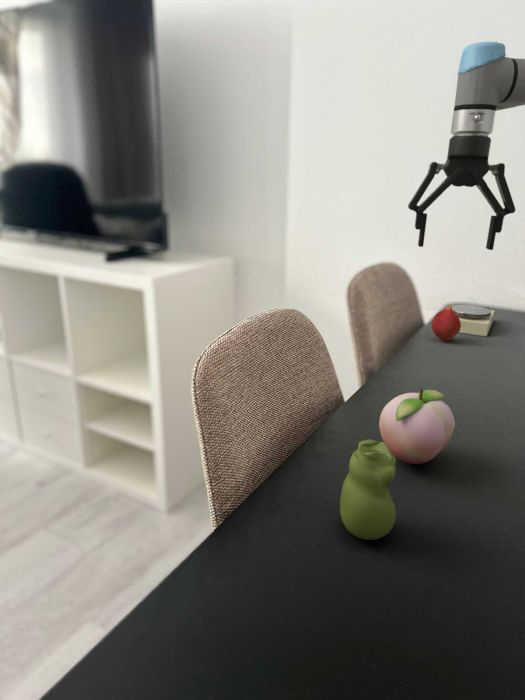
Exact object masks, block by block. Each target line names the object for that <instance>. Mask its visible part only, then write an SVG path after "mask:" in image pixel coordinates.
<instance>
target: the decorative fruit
mask: <svg viewBox="0 0 525 700" xmlns="http://www.w3.org/2000/svg"><path fill="white" fill-rule="evenodd" d="M443 399H446V397H445V395H444V394H443V393H441V392H439V391H438V390H434V389H425V390H424V389H423V388H420V389H419V392H406V393H403V394H400V395H397V396H395V397H394V398H393V399H391V400H390V401H388V403H387V404H386V405H385V406H384V407H383V408H382V410H381V413H380V416H379V422H378V423H379V424H378V427H379V432H380V436H381V439H382V442H384V443H385V445H386V446H387V448H388V449H389V450H390V452H391V453H392V455H393V456H394V457H395V458H397V459H398V460H400V461H402V462H404V463H408V464H411V465H420V464H424V463H428V462H429V461H432V460H433V459H434V458H435V457H436V456H437V455H438V454H439V453H440V452H441V451H443V450H444V449H445V448H446V446H447V445H448V444H449V442H450V440H451V438H452V436H453V434H454V431H455V427H456V421H455V417H454V414H453V412H452V410H451V408H450V407H449V406H448V405H447V403H445V402H444V401H443Z"/></svg>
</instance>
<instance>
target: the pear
mask: <svg viewBox="0 0 525 700" xmlns="http://www.w3.org/2000/svg"><path fill="white" fill-rule="evenodd" d="M396 461H397V460H396V456H394V455H393V454H392V453H391V451H390V450H389V449H388V448H387V446H386V444H385V443H384V441H377V440H374V439H372V438H371V439H370V438H369V439H365V440H361V441H359V442H358V446H357V449H354V451H353V453H352V455H351V456H350V459H349V463H348V473H347V475H346V477H345V479H344V480H343V484H342V487H341V493H340V501H339V512H340V513H339V514H340V517H341V521H342V523H343V526H344V527H345V529H346V530H347V531H348V532H349V533H350V534H351V535H353V536H354V537H356V538H358V539H361V540H365V541H374V540H379V539H381V538H383V537H385V536H387V534H389V533H390V532H391V530H393V527H394V525H395V523H396V518H397V511H396V506H395V502H394V501H393V499H392V497H391V493H390V491H389V489H388V486H389V485H390V484H391V483H392V482H393V481H394V479H395V477H396V473H397V471H396V465H397V464H396Z"/></svg>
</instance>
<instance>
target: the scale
mask: <svg viewBox="0 0 525 700" xmlns="http://www.w3.org/2000/svg"><path fill="white" fill-rule="evenodd" d="M460 304H461V303H459V304H458V305H460ZM462 304H463V303H462ZM463 305H465V304H463ZM483 307H484V308H487V309H489V310H491V315H490V316H489V317H483V318H474V317H465V316H460V315H458V317H459V319H460V322H461V327H460V331H459V332H458V333H463V334H469V335H475V336H481V337H488V334H489V332H490V329H491V327H492V325H493V323H494V317H495V313H496V311H495V310H494V309H490V307H489V306H488V307H487V306H483Z"/></svg>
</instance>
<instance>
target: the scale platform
mask: <svg viewBox="0 0 525 700" xmlns="http://www.w3.org/2000/svg"><path fill="white" fill-rule="evenodd" d="M459 304H460V305H459ZM459 304H452V305H451V306H452V310H453V311H454V312H455V313H456V314H457V315H460V316H465V317H474V318H483V317H489V316H490V315H491V310H492V309H490V308H489V309H487V308H484V307H485V306H480V305H474V304H464V305H463V303H459Z"/></svg>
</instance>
